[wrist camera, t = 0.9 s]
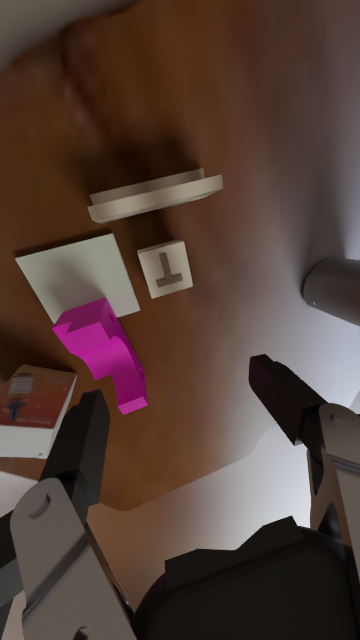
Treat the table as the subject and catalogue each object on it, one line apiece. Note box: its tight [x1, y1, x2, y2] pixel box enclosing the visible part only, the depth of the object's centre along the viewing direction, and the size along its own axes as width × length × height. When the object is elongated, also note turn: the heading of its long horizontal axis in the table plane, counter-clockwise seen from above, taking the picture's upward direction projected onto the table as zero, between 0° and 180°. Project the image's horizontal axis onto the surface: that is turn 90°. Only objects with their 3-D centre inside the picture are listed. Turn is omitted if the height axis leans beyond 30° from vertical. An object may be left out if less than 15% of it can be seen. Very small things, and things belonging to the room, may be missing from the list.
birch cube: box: [137, 240, 193, 298], centre depth 26 cm, size 6×6×6 cm
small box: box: [0, 364, 77, 459], centre depth 27 cm, size 8×6×10 cm
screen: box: [87, 168, 223, 224], centre depth 22 cm, size 14×3×6 cm, turn 103°
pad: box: [15, 233, 140, 324], centre depth 27 cm, size 12×11×1 cm
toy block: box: [52, 297, 148, 415], centre depth 28 cm, size 15×6×8 cm, turn 17°
